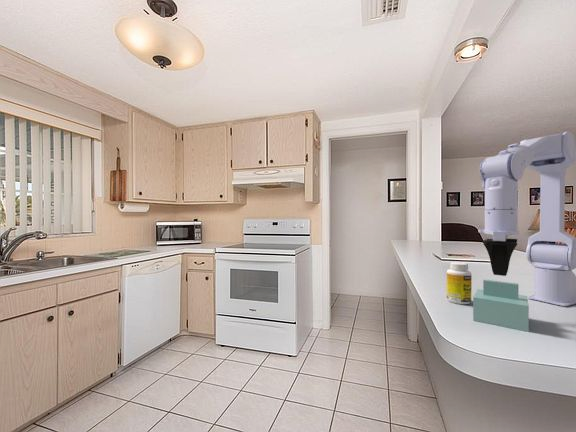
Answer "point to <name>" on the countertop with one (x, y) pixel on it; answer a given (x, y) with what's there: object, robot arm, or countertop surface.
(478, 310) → the two-tier mint step
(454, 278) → the supplement bottle
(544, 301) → the robot arm
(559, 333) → the countertop surface
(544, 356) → the countertop surface
